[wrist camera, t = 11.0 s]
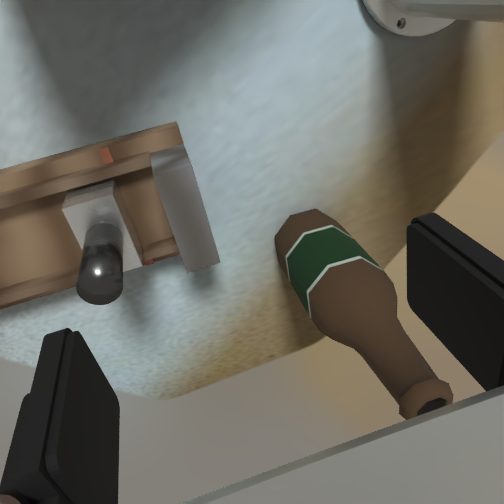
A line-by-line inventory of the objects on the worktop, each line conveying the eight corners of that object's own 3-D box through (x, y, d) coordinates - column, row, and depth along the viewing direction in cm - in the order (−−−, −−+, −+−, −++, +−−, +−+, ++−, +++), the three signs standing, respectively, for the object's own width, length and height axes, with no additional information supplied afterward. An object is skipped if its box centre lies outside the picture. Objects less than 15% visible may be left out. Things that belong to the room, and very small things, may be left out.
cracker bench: (176, 121, 38) (186, 147, 32) (210, 234, 45) (224, 276, 38) (-103, 197, 36) (-155, 243, 29) (-24, 305, 42) (-53, 363, 36)
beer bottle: (292, 279, 50) (401, 465, 30) (258, 234, 46) (359, 415, 26) (348, 242, 50) (498, 407, 30) (319, 192, 46) (470, 345, 25)
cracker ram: (113, 176, 37) (109, 235, 28) (141, 244, 41) (145, 315, 32) (67, 189, 37) (47, 254, 27) (99, 256, 40) (91, 333, 31)
